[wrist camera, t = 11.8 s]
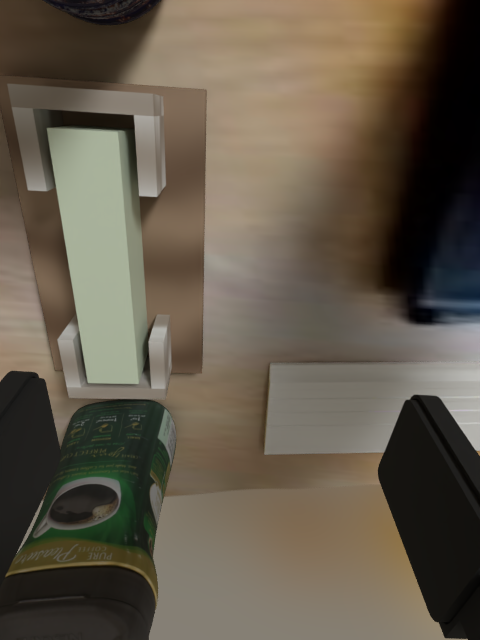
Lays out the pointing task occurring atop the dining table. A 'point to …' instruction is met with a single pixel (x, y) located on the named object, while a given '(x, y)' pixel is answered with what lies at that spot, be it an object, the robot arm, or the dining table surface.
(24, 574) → the coffee jar
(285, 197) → the dining table surface
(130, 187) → the pale green long block
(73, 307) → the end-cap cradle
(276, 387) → the baseboard molding
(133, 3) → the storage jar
